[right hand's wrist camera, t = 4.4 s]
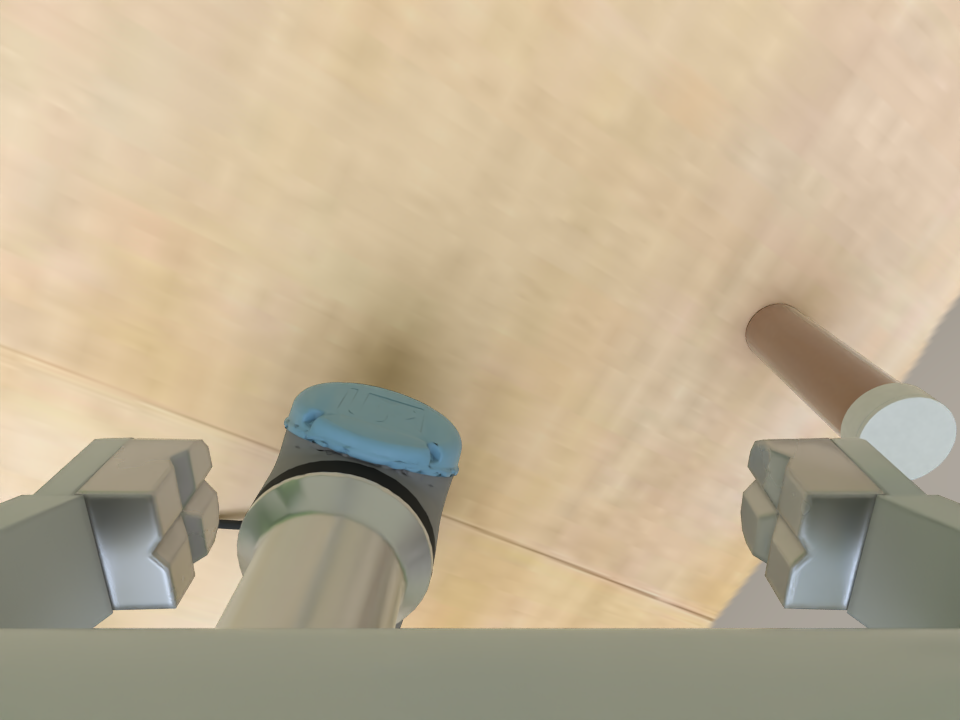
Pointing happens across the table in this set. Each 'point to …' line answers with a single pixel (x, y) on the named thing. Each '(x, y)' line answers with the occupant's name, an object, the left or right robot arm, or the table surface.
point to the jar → (812, 362)
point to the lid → (903, 427)
